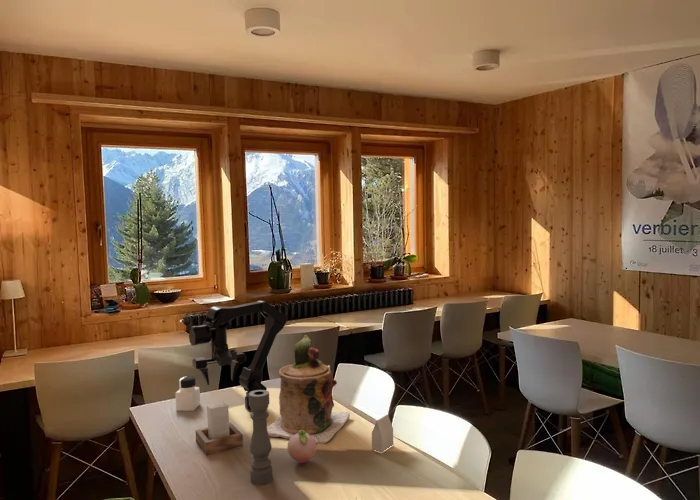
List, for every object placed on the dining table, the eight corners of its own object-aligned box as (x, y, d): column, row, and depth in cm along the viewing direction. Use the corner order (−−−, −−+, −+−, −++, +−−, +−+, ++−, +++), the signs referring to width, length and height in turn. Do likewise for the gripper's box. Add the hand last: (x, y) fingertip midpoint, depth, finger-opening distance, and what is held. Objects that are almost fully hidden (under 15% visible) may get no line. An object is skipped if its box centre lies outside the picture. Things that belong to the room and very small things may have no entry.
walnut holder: (231, 433, 186) (230, 422, 185) (242, 446, 175) (242, 434, 175) (195, 441, 179) (195, 430, 179) (206, 455, 169) (205, 443, 169)
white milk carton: (393, 446, 173) (392, 415, 173) (381, 454, 168) (381, 422, 167) (383, 443, 175) (383, 413, 175) (372, 451, 170) (371, 420, 169)
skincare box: (225, 436, 181) (224, 401, 180) (230, 440, 177) (228, 405, 176) (207, 440, 178) (206, 405, 177) (211, 445, 174) (210, 408, 173)
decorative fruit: (284, 458, 166) (283, 427, 165) (310, 454, 169) (309, 423, 168) (292, 472, 157) (291, 438, 156) (319, 467, 160) (318, 434, 159)
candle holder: (251, 475, 156) (248, 390, 154) (273, 473, 156) (270, 389, 155) (249, 485, 150) (246, 397, 148) (271, 484, 150) (269, 396, 148)
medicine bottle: (200, 404, 215) (199, 374, 214) (193, 411, 208) (192, 380, 207) (183, 404, 216) (182, 374, 215) (175, 410, 208) (174, 380, 208)
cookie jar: (260, 437, 183) (257, 343, 180) (290, 411, 206) (288, 328, 204) (328, 445, 175) (326, 348, 173) (352, 417, 198) (350, 331, 196)
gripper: (199, 349, 187) (201, 393, 189) (250, 341, 197) (252, 383, 198) (191, 342, 197) (192, 385, 198) (240, 336, 207) (241, 376, 208)
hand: (220, 382), depth 200 cm, fingers open, 9 cm apart
